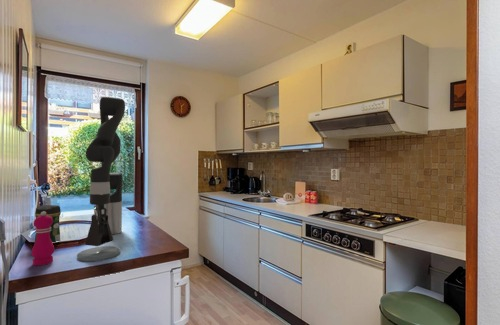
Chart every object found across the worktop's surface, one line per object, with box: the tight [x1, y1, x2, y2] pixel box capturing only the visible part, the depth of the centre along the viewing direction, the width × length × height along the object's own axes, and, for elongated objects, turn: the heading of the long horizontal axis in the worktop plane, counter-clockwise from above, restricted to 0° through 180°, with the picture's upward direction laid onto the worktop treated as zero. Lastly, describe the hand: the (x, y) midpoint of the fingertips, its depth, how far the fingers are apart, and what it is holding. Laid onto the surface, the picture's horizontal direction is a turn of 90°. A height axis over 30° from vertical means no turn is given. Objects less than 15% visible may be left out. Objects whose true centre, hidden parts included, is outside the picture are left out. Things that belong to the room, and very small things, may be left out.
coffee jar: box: [34, 204, 62, 243], centre depth 130 cm, size 10×8×19 cm
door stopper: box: [84, 213, 114, 247], centre depth 116 cm, size 9×6×12 cm, turn 164°
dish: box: [76, 245, 121, 263], centre depth 116 cm, size 16×16×1 cm
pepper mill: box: [30, 211, 55, 266], centre depth 106 cm, size 7×7×20 cm
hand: (99, 231), depth 116 cm, fingers closed on door stopper, 6 cm apart
